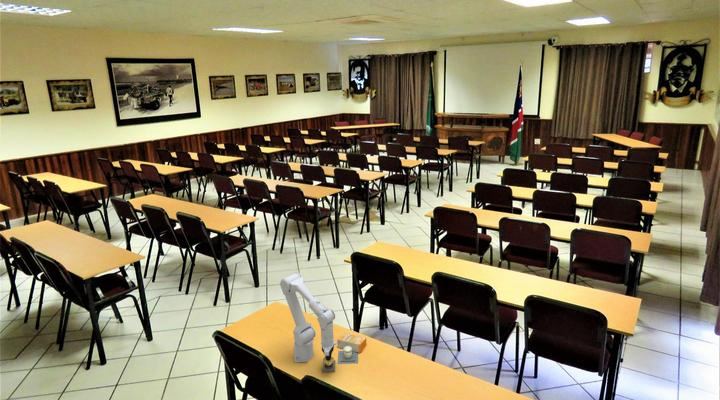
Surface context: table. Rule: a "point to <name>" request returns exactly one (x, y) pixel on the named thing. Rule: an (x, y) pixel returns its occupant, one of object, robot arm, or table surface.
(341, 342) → the supplement box
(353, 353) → the filter base
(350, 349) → the cylinder
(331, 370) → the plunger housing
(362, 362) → the table surface
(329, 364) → the plunger
